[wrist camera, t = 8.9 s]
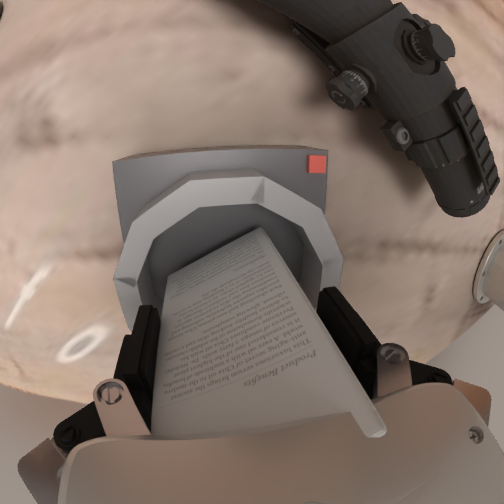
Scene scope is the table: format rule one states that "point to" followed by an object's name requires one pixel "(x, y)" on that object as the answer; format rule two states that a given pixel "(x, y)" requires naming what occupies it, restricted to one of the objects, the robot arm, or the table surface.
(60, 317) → the table surface
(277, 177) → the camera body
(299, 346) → the skincare box
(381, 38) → the rifle scope
